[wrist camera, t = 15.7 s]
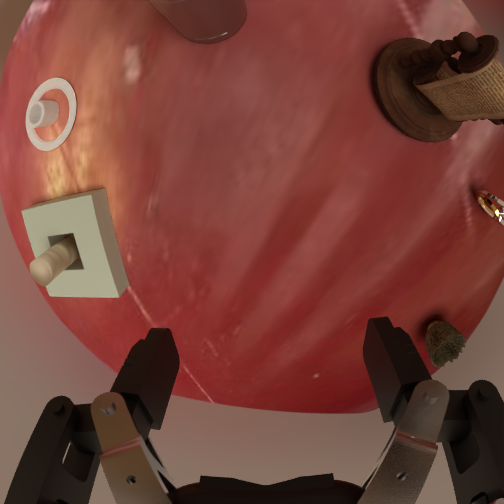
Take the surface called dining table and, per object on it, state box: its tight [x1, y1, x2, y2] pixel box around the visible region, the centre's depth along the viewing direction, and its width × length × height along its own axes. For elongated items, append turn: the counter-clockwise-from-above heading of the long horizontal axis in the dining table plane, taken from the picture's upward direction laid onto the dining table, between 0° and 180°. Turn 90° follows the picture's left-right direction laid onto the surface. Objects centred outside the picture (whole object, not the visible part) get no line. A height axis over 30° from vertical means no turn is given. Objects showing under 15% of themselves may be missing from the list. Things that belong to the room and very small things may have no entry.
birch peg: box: [30, 233, 80, 286], centre depth 36 cm, size 4×4×11 cm
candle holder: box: [26, 78, 76, 151], centre depth 30 cm, size 12×12×4 cm
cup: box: [425, 319, 466, 368], centre depth 41 cm, size 8×7×8 cm
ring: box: [475, 190, 504, 226], centre depth 31 cm, size 7×3×8 cm, turn 52°
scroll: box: [374, 32, 504, 142], centre depth 20 cm, size 15×15×20 cm
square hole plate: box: [22, 188, 129, 298], centre depth 39 cm, size 16×16×4 cm
